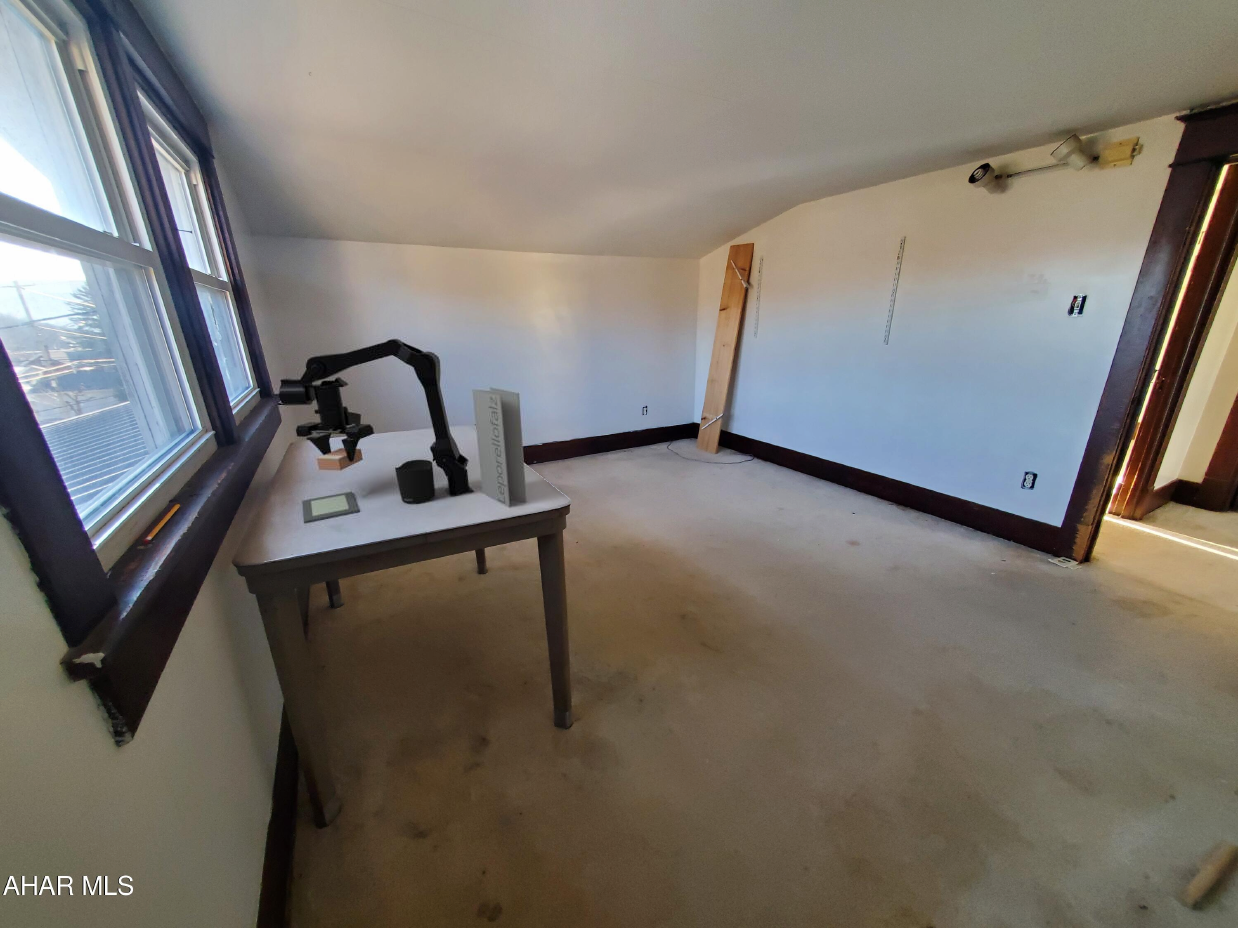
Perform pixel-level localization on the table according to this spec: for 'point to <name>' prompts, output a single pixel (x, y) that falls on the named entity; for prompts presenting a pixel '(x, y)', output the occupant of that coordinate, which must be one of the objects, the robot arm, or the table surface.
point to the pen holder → (416, 481)
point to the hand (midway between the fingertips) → (340, 460)
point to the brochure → (500, 444)
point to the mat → (329, 507)
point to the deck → (337, 460)
